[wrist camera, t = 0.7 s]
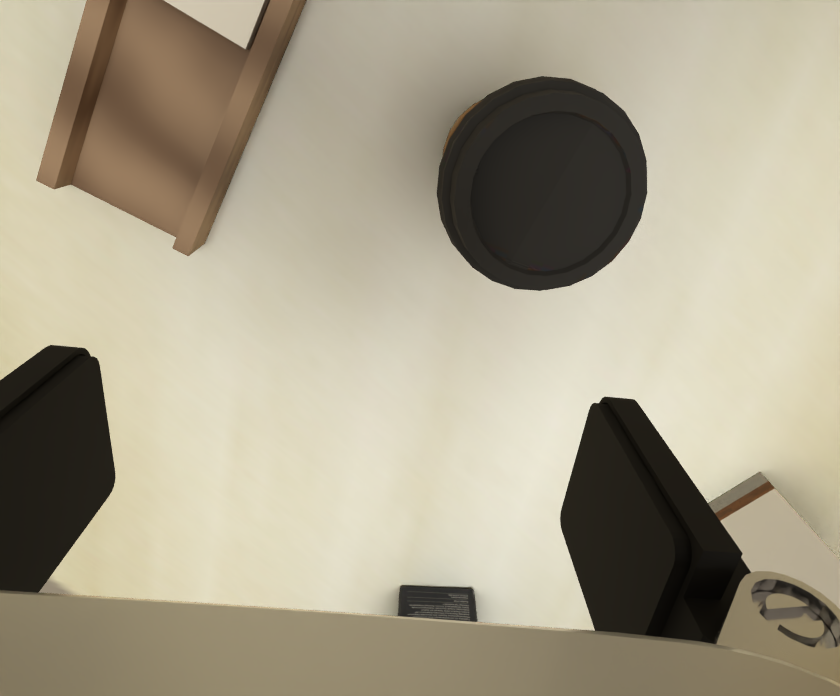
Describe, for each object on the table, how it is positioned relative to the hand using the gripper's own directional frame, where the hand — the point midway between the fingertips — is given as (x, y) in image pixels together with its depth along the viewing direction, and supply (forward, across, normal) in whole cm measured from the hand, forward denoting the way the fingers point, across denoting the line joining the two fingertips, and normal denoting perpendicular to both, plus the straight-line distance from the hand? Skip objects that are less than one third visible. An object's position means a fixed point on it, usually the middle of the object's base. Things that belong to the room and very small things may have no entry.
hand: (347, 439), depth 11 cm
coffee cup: (+28, -6, -3) cm, 29 cm away
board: (+27, +11, -9) cm, 31 cm away
